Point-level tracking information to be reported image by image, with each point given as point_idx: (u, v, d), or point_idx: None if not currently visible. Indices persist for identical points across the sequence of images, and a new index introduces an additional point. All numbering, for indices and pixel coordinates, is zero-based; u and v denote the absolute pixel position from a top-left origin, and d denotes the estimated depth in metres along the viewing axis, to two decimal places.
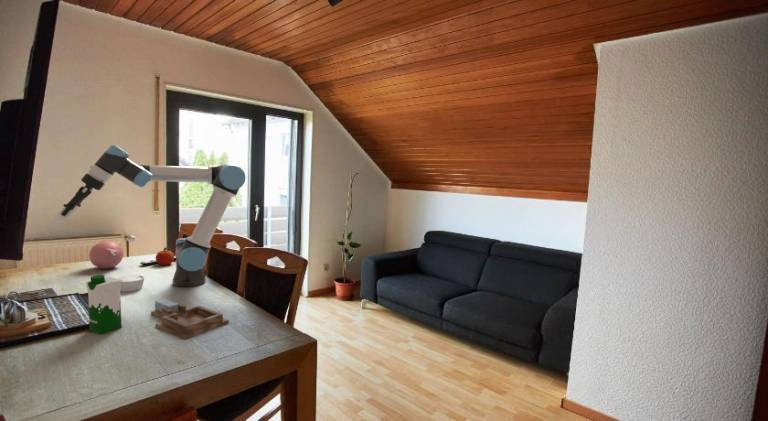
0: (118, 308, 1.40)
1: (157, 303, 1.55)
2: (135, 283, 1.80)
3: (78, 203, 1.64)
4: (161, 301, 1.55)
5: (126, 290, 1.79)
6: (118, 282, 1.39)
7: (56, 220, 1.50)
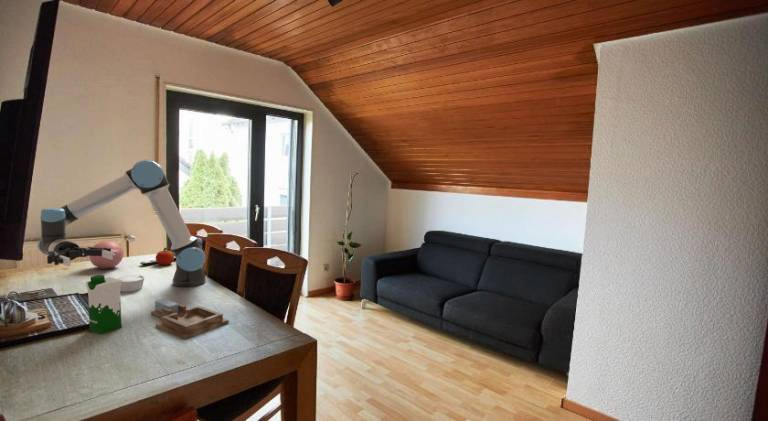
0: (118, 308, 1.40)
1: (157, 303, 1.55)
2: (135, 283, 1.80)
3: (99, 250, 1.51)
4: (161, 301, 1.55)
5: (126, 290, 1.79)
6: (118, 282, 1.39)
7: (66, 263, 1.36)
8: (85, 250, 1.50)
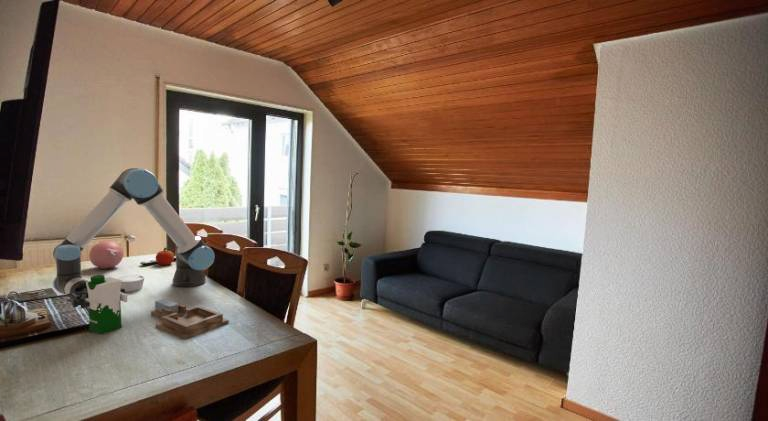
0: (118, 308, 1.40)
1: (157, 303, 1.55)
2: (135, 283, 1.80)
3: None
4: (161, 301, 1.55)
5: (126, 290, 1.79)
6: (118, 282, 1.39)
7: (93, 307, 1.32)
8: None
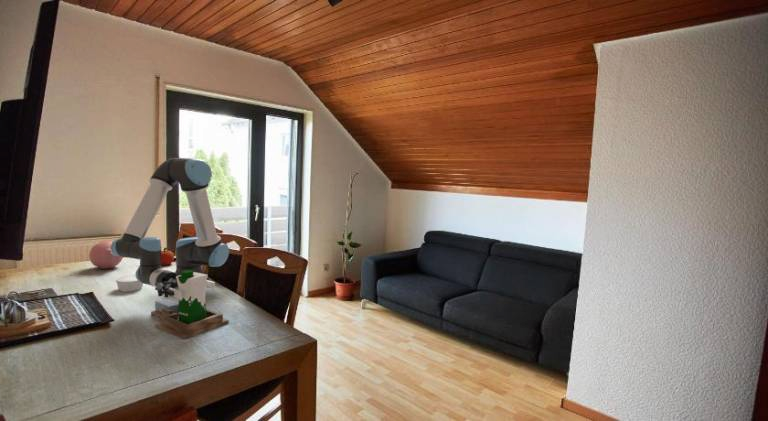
0: (204, 301, 1.46)
1: (157, 303, 1.55)
2: (135, 283, 1.80)
3: None
4: (161, 301, 1.55)
5: (126, 290, 1.79)
6: (205, 276, 1.46)
7: (178, 296, 1.38)
8: None
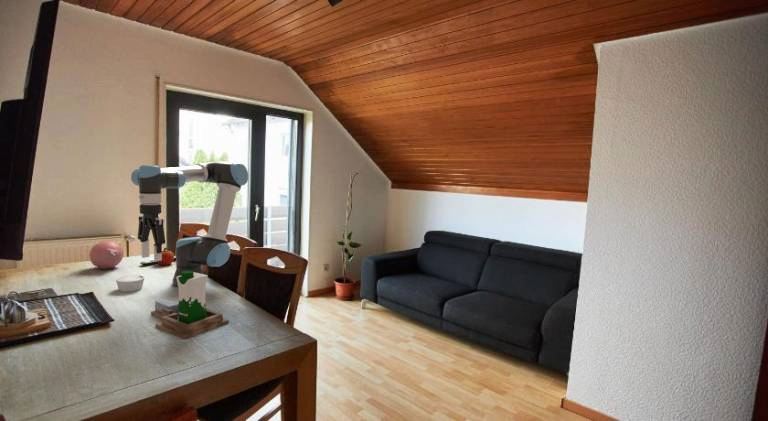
0: (204, 302, 1.46)
1: (157, 303, 1.55)
2: (135, 283, 1.80)
3: (147, 237, 1.60)
4: (161, 301, 1.55)
5: (126, 290, 1.79)
6: (205, 277, 1.45)
7: (157, 259, 1.55)
8: None
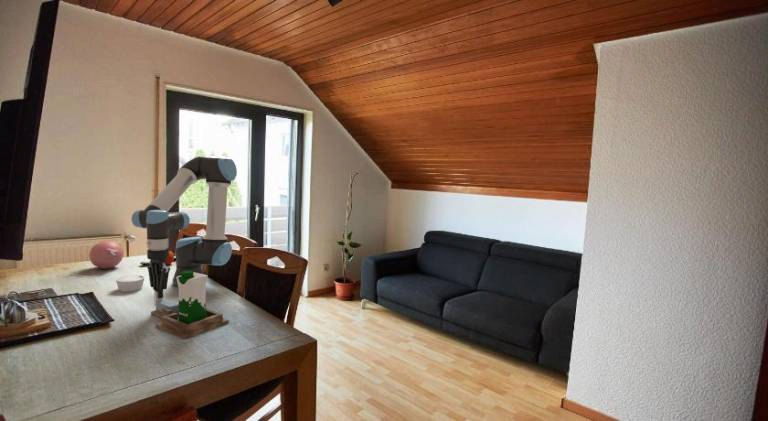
0: (204, 302, 1.46)
1: (158, 303, 1.54)
2: (135, 283, 1.80)
3: None
4: (162, 301, 1.55)
5: (126, 290, 1.79)
6: (205, 277, 1.45)
7: None
8: None
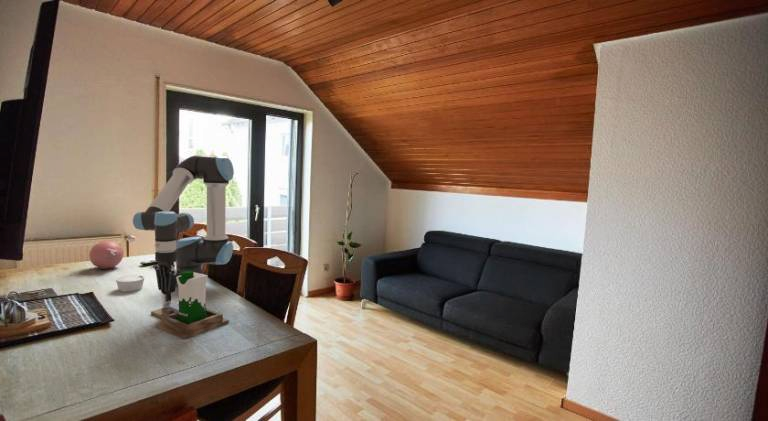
0: (204, 302, 1.46)
1: (166, 306, 1.52)
2: (135, 283, 1.80)
3: None
4: (170, 304, 1.52)
5: (126, 290, 1.79)
6: (205, 277, 1.45)
7: None
8: None
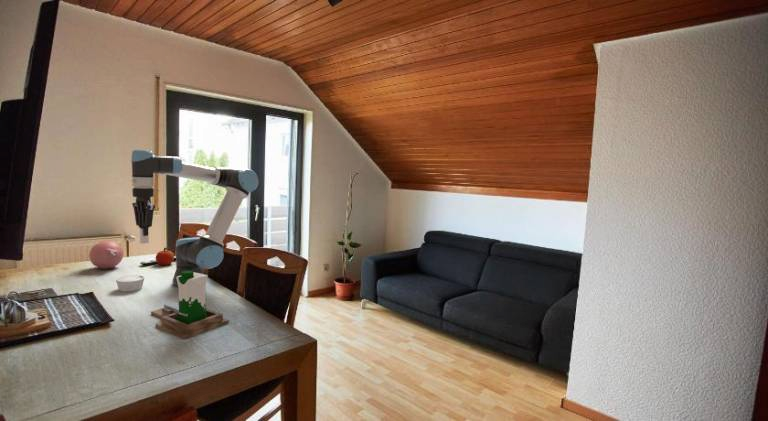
0: (204, 302, 1.46)
1: (166, 306, 1.52)
2: (135, 283, 1.80)
3: None
4: (170, 304, 1.52)
5: (126, 290, 1.79)
6: (205, 277, 1.45)
7: (144, 242, 1.63)
8: None
